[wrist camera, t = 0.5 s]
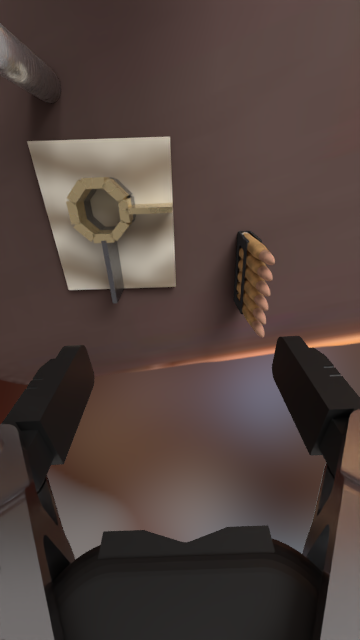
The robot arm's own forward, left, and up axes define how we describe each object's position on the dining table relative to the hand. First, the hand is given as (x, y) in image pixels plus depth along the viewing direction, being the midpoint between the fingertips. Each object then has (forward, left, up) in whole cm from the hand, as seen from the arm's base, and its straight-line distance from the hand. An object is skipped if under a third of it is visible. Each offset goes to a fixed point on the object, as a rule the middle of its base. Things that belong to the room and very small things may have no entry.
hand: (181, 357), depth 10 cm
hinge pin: (-16, -14, -27) cm, 34 cm away
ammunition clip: (+5, +9, -27) cm, 30 cm away
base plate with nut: (-2, -9, -27) cm, 29 cm away
